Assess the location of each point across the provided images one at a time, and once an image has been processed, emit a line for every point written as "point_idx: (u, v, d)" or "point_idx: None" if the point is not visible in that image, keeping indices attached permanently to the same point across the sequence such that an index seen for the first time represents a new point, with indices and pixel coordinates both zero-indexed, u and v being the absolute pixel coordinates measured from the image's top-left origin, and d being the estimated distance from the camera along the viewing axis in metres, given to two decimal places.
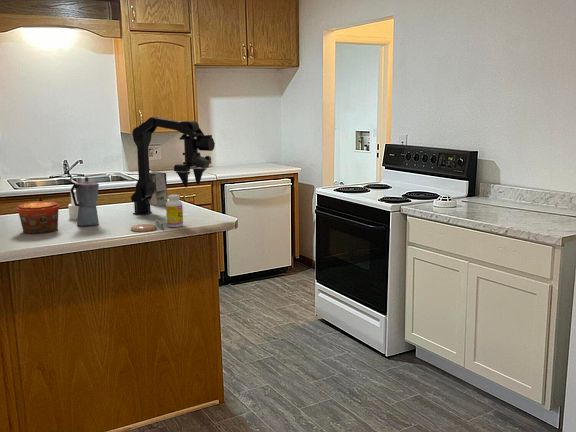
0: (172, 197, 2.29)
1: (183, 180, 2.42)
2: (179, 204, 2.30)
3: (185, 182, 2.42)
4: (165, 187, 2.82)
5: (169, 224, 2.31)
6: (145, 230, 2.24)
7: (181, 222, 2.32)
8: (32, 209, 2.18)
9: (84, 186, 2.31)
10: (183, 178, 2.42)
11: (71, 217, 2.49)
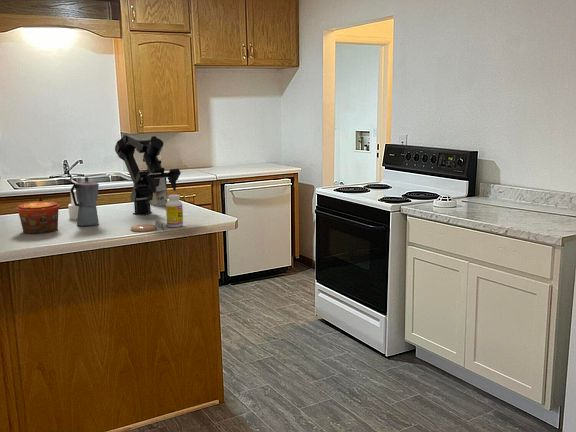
0: (172, 197, 2.29)
1: None
2: (179, 204, 2.30)
3: None
4: (165, 187, 2.82)
5: (169, 224, 2.31)
6: (145, 230, 2.24)
7: (181, 222, 2.32)
8: (32, 209, 2.18)
9: (84, 186, 2.31)
10: None
11: (71, 217, 2.49)
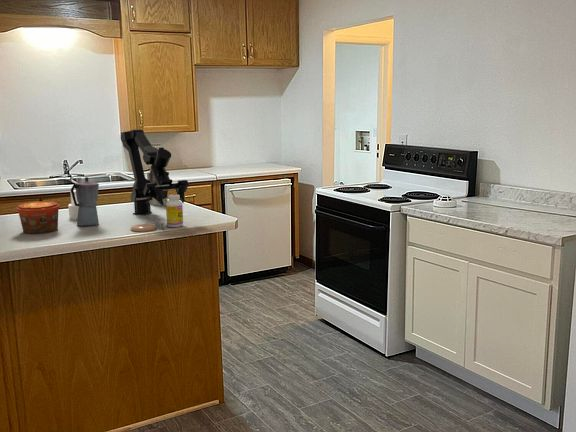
0: (172, 197, 2.29)
1: None
2: (179, 204, 2.30)
3: None
4: None
5: (169, 224, 2.31)
6: (145, 230, 2.24)
7: (181, 222, 2.32)
8: (32, 209, 2.18)
9: (84, 186, 2.31)
10: None
11: (71, 217, 2.49)
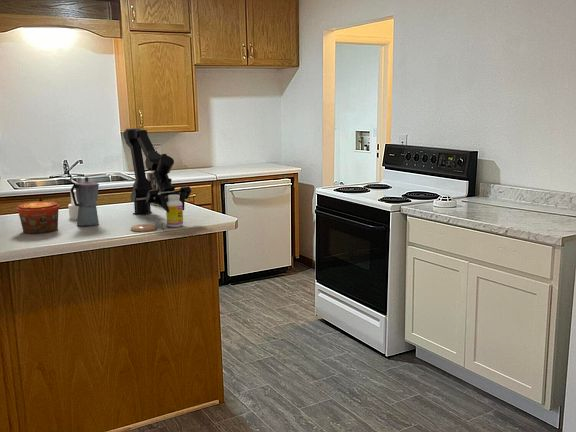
0: (172, 197, 2.29)
1: None
2: (179, 204, 2.30)
3: None
4: None
5: (169, 224, 2.31)
6: (145, 230, 2.24)
7: (181, 222, 2.32)
8: (32, 209, 2.18)
9: (84, 186, 2.31)
10: None
11: (71, 217, 2.49)
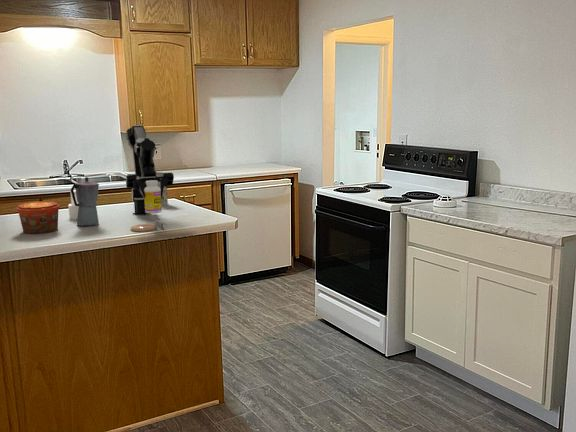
0: (148, 183, 2.24)
1: (163, 189, 2.29)
2: (155, 190, 2.24)
3: None
4: (165, 187, 2.82)
5: (146, 210, 2.26)
6: (145, 230, 2.24)
7: (159, 209, 2.26)
8: (32, 209, 2.18)
9: (84, 186, 2.31)
10: None
11: (71, 217, 2.49)
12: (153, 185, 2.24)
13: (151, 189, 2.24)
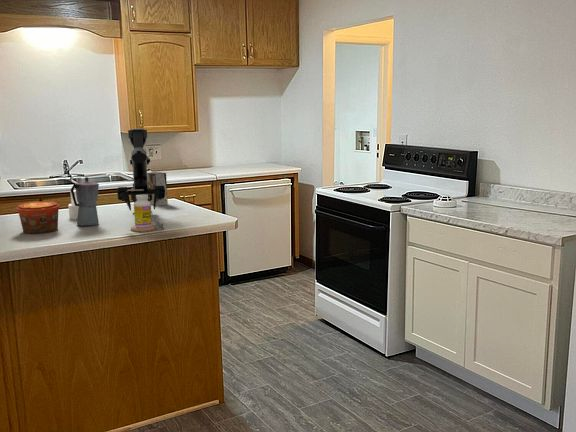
0: (138, 197, 2.24)
1: (156, 201, 2.28)
2: (144, 204, 2.24)
3: None
4: (165, 187, 2.82)
5: (135, 224, 2.26)
6: (145, 230, 2.24)
7: (148, 223, 2.26)
8: (32, 209, 2.18)
9: (84, 186, 2.31)
10: (156, 200, 2.29)
11: (71, 217, 2.49)
12: (142, 199, 2.24)
13: (140, 203, 2.23)
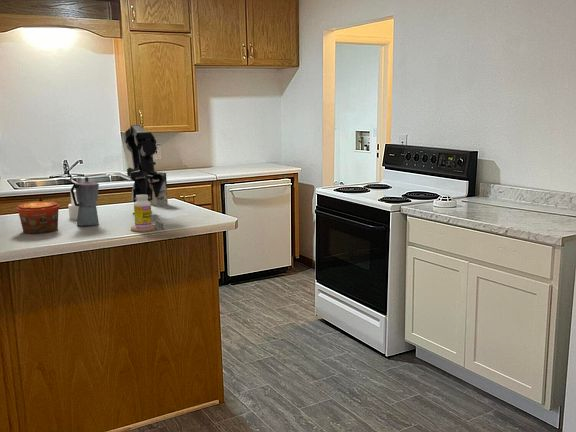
0: (138, 197, 2.24)
1: None
2: (144, 204, 2.24)
3: None
4: (165, 187, 2.82)
5: (135, 224, 2.26)
6: (145, 230, 2.24)
7: (148, 223, 2.26)
8: (32, 209, 2.18)
9: (84, 186, 2.31)
10: None
11: (71, 217, 2.49)
12: (142, 199, 2.24)
13: (140, 203, 2.23)
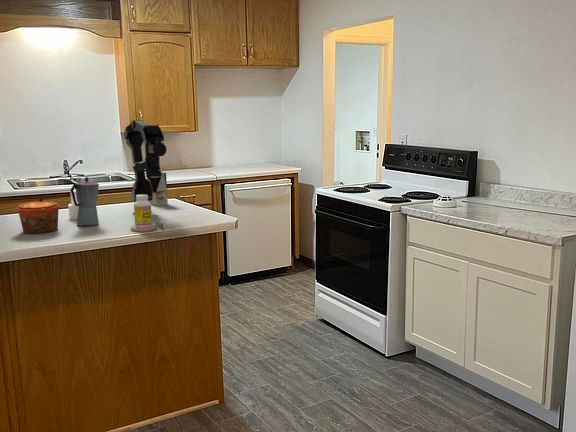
0: (138, 197, 2.24)
1: None
2: (144, 204, 2.24)
3: None
4: (165, 187, 2.82)
5: (135, 224, 2.26)
6: (145, 230, 2.24)
7: (148, 223, 2.26)
8: (32, 209, 2.18)
9: (84, 186, 2.31)
10: None
11: (71, 217, 2.49)
12: (142, 199, 2.24)
13: (140, 203, 2.23)
